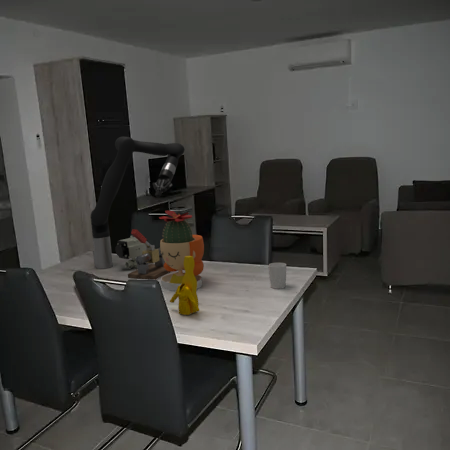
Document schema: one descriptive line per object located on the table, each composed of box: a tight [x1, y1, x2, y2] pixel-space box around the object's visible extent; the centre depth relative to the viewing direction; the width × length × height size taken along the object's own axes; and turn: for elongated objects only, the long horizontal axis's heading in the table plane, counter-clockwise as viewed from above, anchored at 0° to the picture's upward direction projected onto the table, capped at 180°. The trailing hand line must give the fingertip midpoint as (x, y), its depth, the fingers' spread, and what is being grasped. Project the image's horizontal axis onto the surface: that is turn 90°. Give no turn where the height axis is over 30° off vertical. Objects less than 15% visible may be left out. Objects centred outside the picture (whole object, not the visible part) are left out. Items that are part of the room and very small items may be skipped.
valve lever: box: [130, 228, 153, 249], centre depth 224 cm, size 2×2×17 cm
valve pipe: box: [135, 244, 165, 275], centre depth 231 cm, size 6×20×13 cm, turn 155°
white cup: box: [268, 262, 287, 290], centre depth 198 cm, size 8×8×10 cm
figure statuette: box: [169, 256, 200, 316], centre depth 171 cm, size 18×8×22 cm, turn 44°
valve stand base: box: [127, 263, 172, 280], centre depth 232 cm, size 16×20×2 cm
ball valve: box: [114, 235, 149, 270], centre depth 245 cm, size 18×8×18 cm, turn 139°
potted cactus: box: [158, 210, 205, 292], centre depth 209 cm, size 22×22×35 cm
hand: (157, 196), depth 245 cm, fingers closed
